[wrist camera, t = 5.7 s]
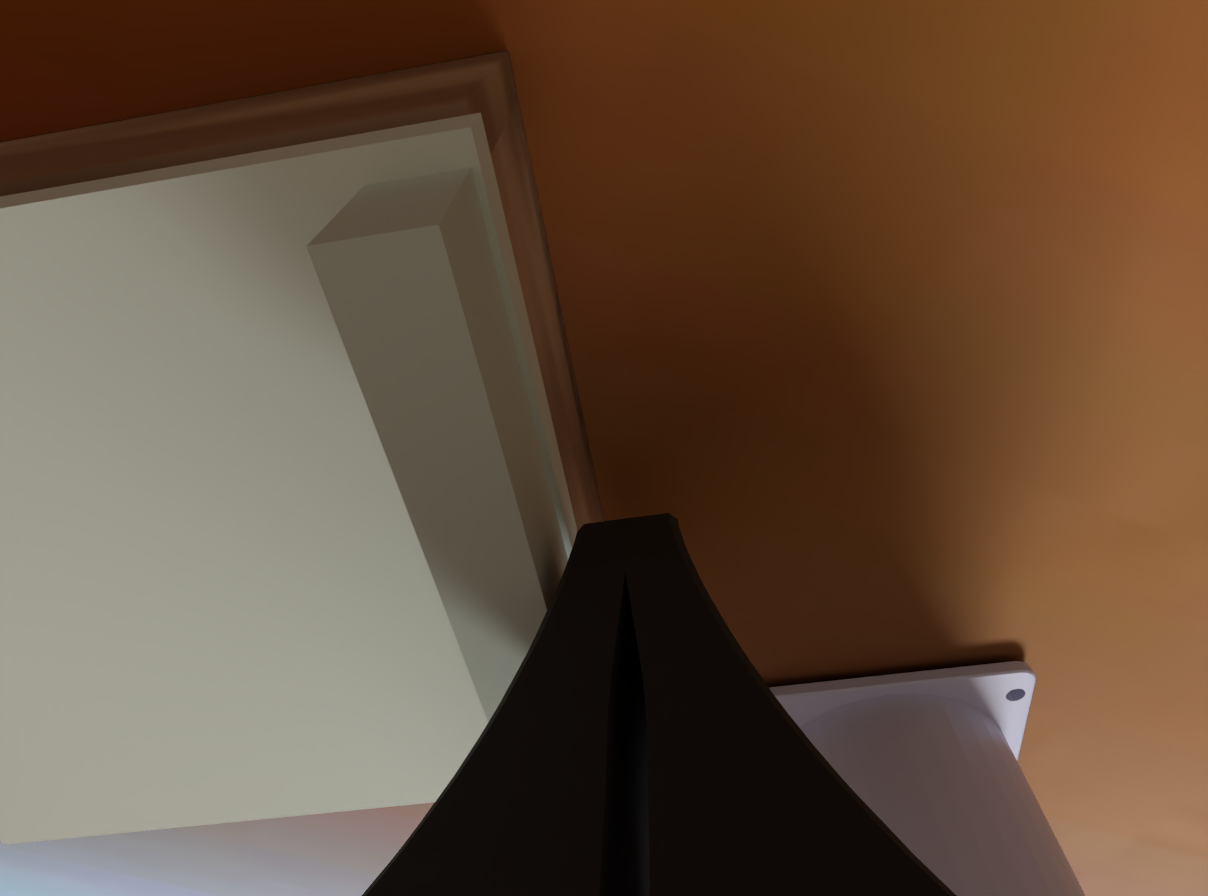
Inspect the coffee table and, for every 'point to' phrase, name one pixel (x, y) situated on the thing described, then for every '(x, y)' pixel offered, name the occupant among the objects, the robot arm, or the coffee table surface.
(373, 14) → the coffee table surface
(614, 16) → the coffee table surface
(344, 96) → the box
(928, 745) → the robot arm
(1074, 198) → the coffee table surface
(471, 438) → the lid
